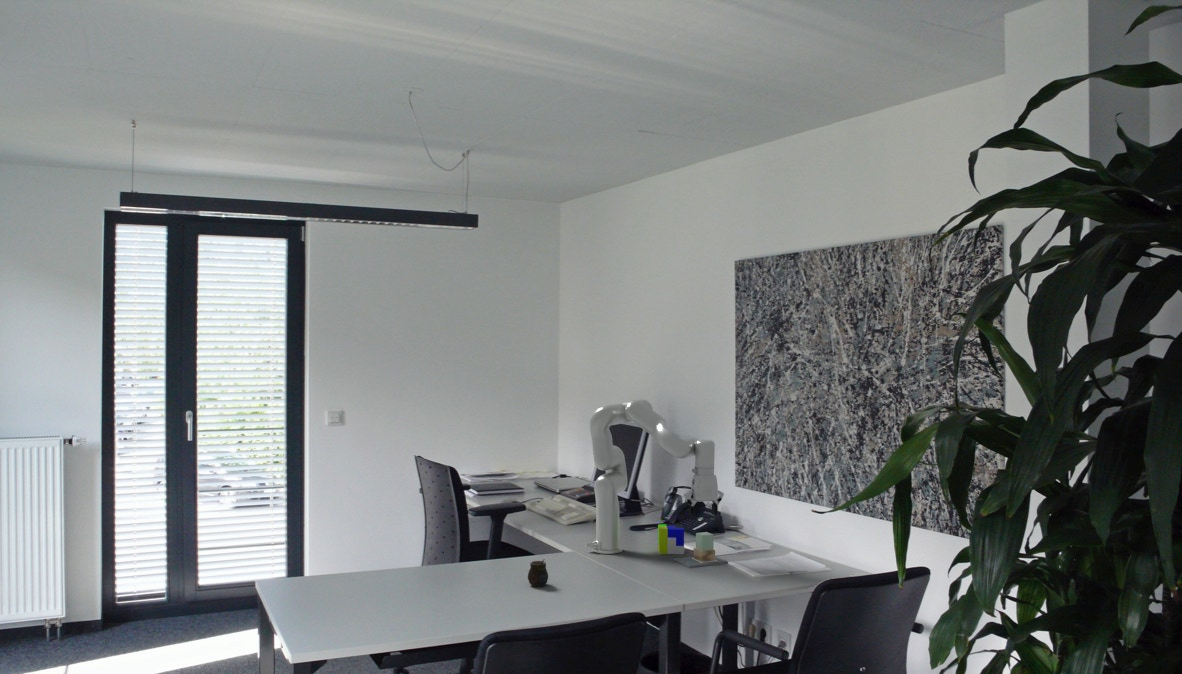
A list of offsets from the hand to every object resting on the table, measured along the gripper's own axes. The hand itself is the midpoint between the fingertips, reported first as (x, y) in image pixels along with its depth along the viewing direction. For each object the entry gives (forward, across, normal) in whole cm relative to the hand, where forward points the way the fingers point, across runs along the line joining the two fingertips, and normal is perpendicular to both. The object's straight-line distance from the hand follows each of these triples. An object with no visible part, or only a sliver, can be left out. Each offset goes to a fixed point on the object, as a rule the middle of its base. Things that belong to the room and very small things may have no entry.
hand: (703, 515), depth 343 cm
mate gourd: (+19, -70, -9) cm, 73 cm away
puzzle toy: (+19, -3, +20) cm, 28 cm away
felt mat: (+18, -1, -1) cm, 18 cm away
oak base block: (+17, +1, -1) cm, 17 cm away
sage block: (+13, +1, -1) cm, 13 cm away
